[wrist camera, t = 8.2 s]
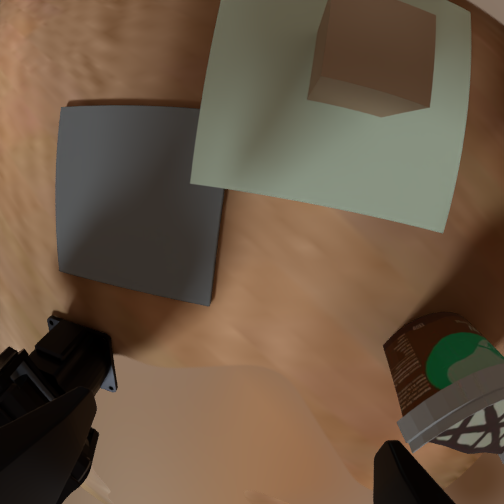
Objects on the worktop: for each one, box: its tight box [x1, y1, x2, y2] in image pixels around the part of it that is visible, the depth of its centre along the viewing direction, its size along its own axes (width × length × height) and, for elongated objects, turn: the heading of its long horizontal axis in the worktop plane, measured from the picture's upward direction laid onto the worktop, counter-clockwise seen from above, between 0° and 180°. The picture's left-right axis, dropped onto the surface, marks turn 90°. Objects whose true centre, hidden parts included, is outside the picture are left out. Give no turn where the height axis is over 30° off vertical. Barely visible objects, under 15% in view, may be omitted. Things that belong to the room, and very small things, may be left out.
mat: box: [56, 105, 225, 306], centre depth 19 cm, size 12×12×1 cm
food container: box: [383, 312, 504, 464], centre depth 15 cm, size 12×6×10 cm, turn 62°
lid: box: [190, 0, 471, 233], centre depth 9 cm, size 11×11×5 cm
